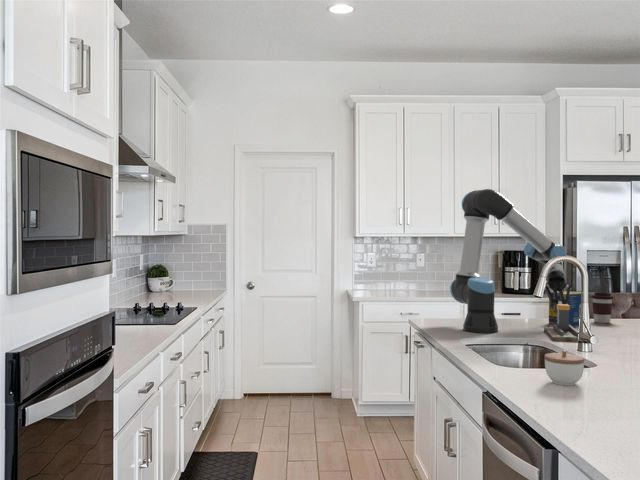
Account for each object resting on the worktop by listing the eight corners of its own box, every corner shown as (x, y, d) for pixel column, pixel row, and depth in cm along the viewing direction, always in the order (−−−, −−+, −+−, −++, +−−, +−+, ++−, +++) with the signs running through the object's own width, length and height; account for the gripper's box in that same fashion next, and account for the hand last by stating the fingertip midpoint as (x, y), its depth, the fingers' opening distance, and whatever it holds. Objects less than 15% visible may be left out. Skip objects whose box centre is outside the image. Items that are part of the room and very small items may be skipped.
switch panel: (552, 340, 236) (552, 332, 236) (544, 330, 261) (544, 323, 261) (589, 342, 233) (589, 333, 233) (577, 332, 258) (577, 324, 258)
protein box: (548, 323, 283) (548, 292, 283) (567, 321, 292) (567, 290, 292) (567, 326, 275) (567, 294, 274) (586, 324, 283) (586, 292, 283)
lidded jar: (564, 389, 161) (565, 355, 161) (536, 380, 171) (536, 348, 171) (592, 385, 165) (593, 352, 165) (563, 377, 175) (563, 346, 175)
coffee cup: (608, 320, 294) (608, 291, 294) (616, 323, 284) (616, 293, 284) (588, 320, 295) (588, 291, 295) (595, 323, 285) (595, 293, 285)
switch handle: (558, 330, 252) (558, 305, 252) (556, 328, 257) (556, 304, 256) (569, 330, 251) (569, 305, 251) (567, 329, 255) (567, 304, 255)
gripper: (569, 280, 278) (575, 320, 262) (540, 280, 281) (545, 319, 265) (571, 270, 273) (578, 310, 257) (542, 269, 276) (546, 309, 260)
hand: (561, 314), depth 261 cm, fingers closed
